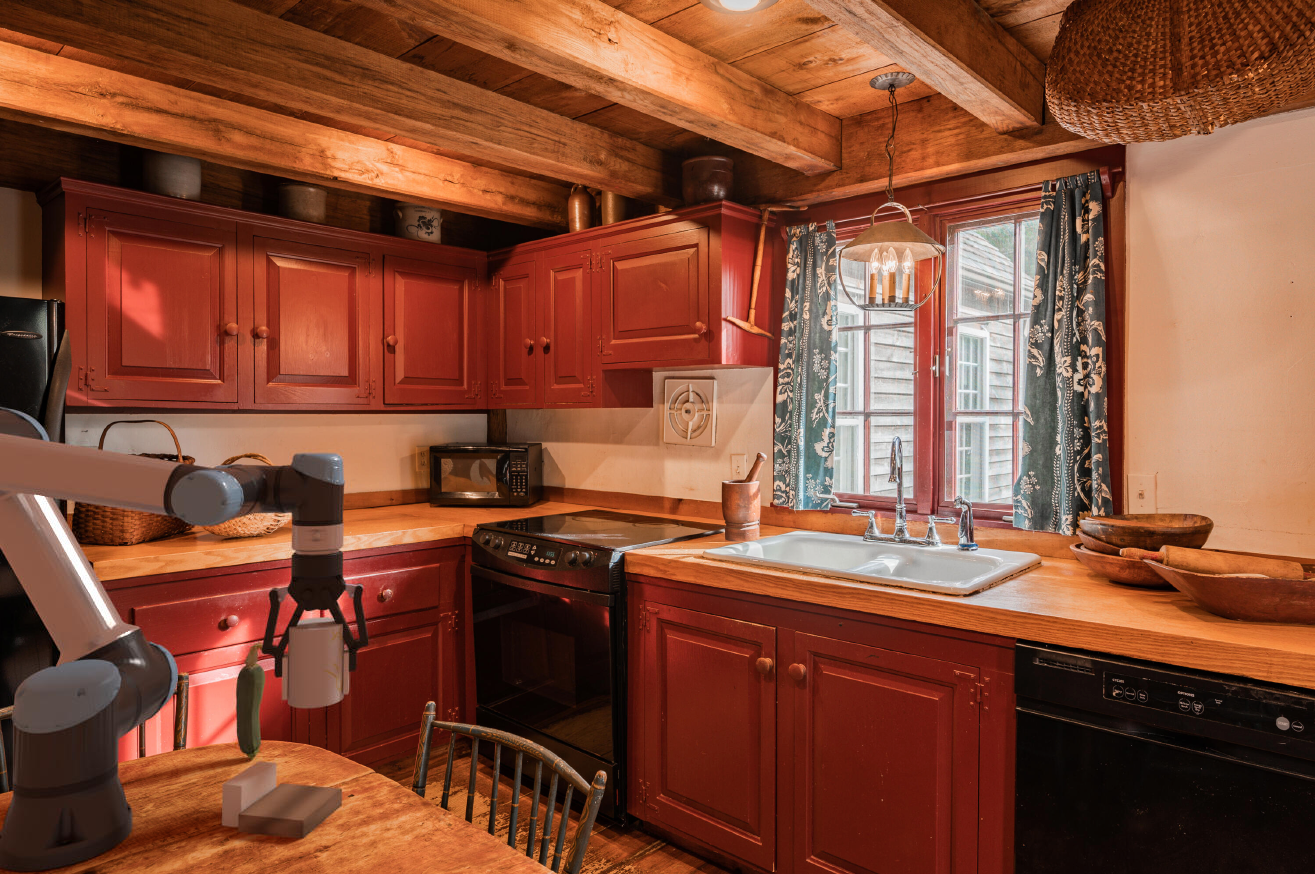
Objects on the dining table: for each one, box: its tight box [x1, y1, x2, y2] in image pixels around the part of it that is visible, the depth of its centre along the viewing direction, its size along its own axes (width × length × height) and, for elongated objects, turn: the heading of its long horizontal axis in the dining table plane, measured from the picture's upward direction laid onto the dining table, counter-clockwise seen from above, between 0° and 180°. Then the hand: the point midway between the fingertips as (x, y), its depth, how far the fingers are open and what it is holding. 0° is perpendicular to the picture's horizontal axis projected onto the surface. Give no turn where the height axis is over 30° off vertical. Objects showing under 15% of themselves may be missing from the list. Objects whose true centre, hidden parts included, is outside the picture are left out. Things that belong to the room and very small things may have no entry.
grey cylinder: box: [287, 617, 345, 709], centre depth 126 cm, size 8×8×12 cm
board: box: [237, 783, 343, 840], centre depth 117 cm, size 10×10×3 cm
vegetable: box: [235, 641, 266, 761], centre depth 138 cm, size 4×4×20 cm
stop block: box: [221, 761, 277, 828], centre depth 118 cm, size 3×8×6 cm, turn 171°
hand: (316, 693), depth 126 cm, fingers closed on grey cylinder, 8 cm apart
